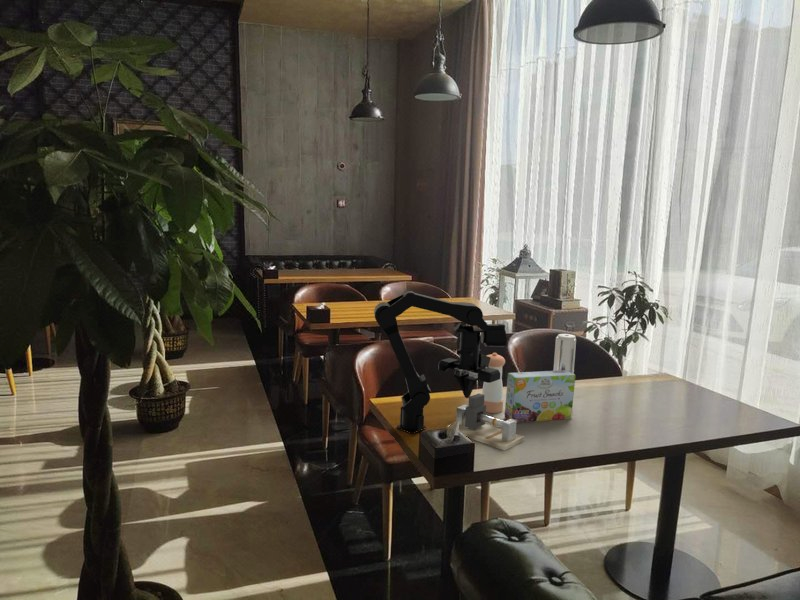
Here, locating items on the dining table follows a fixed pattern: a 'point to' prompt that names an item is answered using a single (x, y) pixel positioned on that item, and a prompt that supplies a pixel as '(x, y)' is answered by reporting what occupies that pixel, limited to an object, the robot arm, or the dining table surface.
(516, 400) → the snack box
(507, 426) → the pipe rig
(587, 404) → the dining table surface
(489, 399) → the pepper shaker
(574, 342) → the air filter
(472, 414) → the grey upright block
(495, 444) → the board
